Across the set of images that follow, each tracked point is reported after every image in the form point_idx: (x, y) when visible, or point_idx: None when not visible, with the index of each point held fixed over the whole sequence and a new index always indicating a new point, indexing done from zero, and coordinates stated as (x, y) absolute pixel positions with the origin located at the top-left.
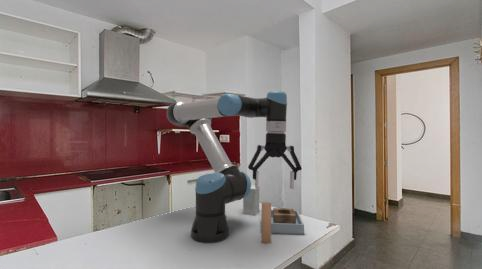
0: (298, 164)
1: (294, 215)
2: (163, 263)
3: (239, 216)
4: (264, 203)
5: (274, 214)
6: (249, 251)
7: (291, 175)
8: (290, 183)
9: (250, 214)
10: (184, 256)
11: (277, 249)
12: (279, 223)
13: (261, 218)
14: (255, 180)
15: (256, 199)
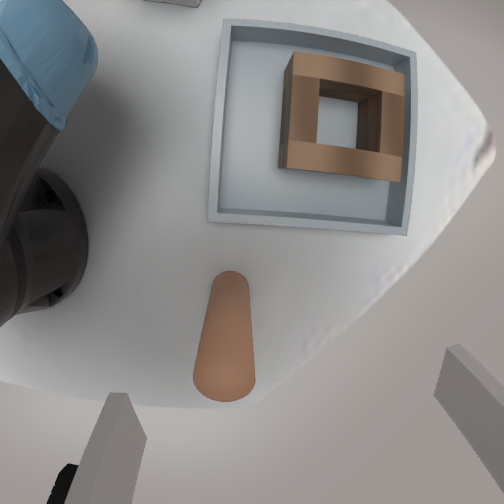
0: None
1: (393, 179)
2: (14, 381)
3: (121, 32)
4: (211, 374)
5: (288, 161)
6: (173, 354)
7: (495, 456)
8: (463, 386)
9: (175, 3)
10: (30, 363)
11: (264, 342)
12: (302, 222)
13: (213, 153)
14: (94, 451)
15: None
